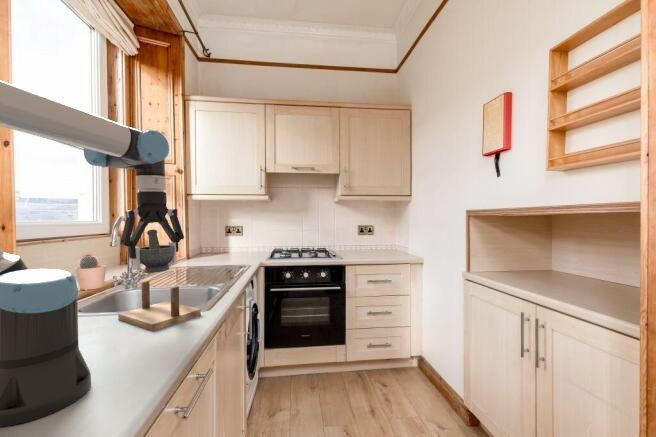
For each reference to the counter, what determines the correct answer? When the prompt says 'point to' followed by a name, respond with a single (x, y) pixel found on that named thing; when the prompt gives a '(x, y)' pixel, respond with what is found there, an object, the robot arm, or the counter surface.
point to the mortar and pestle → (156, 254)
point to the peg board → (158, 311)
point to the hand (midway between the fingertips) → (155, 266)
